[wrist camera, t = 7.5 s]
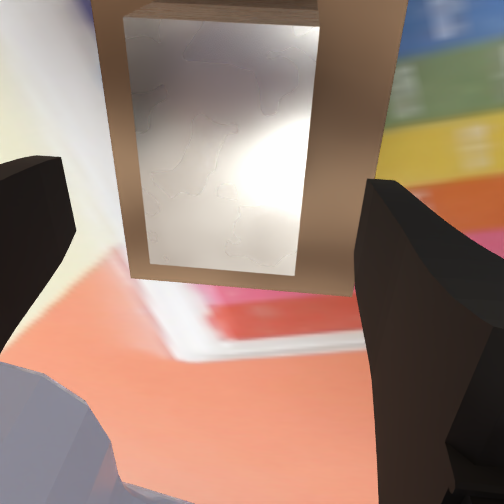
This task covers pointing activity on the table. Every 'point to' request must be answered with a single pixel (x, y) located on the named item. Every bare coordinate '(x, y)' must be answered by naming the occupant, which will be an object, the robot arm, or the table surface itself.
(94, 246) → the table surface
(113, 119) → the walnut stand
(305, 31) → the block
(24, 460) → the robot arm
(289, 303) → the table surface
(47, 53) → the table surface
